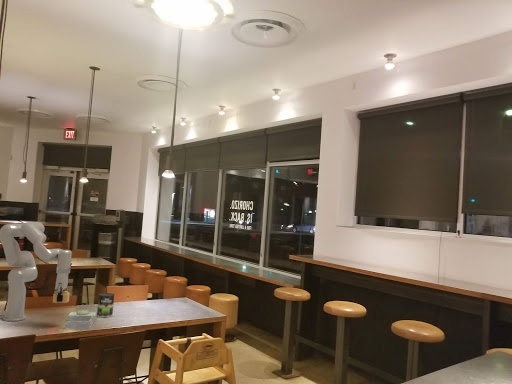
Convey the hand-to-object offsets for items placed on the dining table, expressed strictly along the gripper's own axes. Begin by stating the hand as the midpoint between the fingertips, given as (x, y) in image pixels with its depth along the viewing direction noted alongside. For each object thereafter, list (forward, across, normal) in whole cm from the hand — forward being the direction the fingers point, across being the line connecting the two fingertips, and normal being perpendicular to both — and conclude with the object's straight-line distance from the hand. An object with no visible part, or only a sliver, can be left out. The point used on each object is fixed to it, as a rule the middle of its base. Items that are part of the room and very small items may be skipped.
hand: (60, 300), depth 242 cm
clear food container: (+16, -14, +11) cm, 24 cm away
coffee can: (+16, -26, +23) cm, 38 cm away
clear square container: (+16, -3, +11) cm, 19 cm away
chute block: (+1, 0, 0) cm, 1 cm away
